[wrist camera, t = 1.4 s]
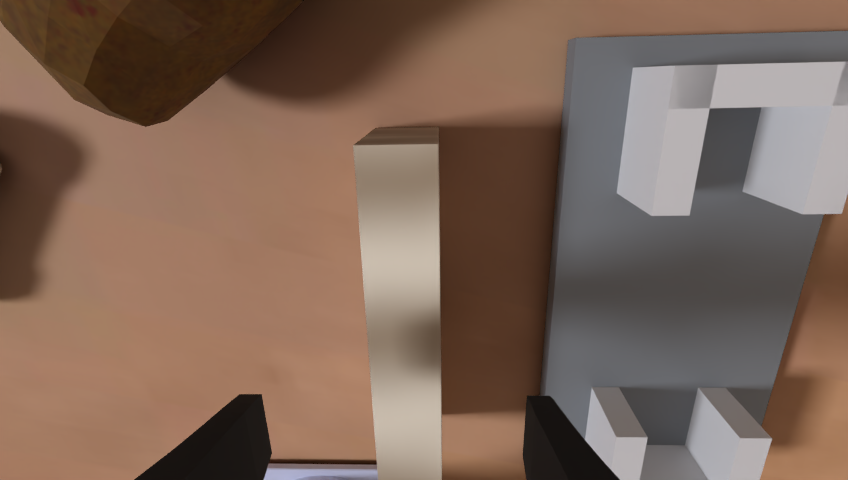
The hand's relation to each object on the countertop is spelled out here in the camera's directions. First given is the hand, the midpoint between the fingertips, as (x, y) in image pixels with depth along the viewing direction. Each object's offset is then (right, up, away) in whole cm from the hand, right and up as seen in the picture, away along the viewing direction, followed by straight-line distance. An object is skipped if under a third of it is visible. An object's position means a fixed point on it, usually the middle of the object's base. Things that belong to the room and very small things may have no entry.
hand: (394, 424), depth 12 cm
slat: (0, +3, +8) cm, 9 cm away
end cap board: (+11, +3, +7) cm, 14 cm away
